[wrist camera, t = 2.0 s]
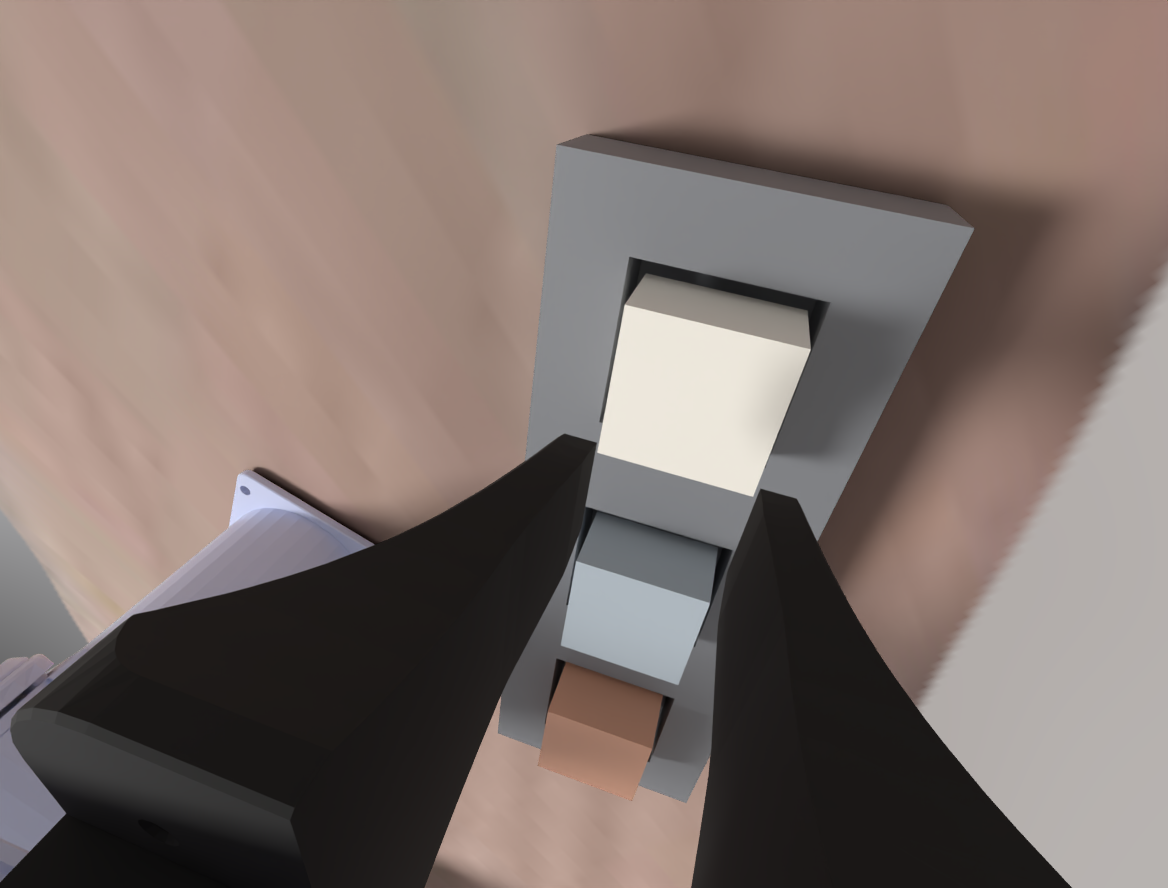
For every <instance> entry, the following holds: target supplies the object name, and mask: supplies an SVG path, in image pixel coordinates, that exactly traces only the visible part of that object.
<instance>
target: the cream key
mask: <svg viewBox="0 0 1168 888" xmlns="http://www.w3.org/2000/svg"><path fill="white" fill-rule="evenodd" d="M810 350H811V345H810V334H809V322H808V311H807V310H803V309H799V308H794V307H790V306H786V305H781V304H777V303H773V302H768V301H764V300H760V299H755V298H751V297H747V296H742V295H738V294H734V293H729V292H725V291H721V290H716V289H712V288H708V287H703V286H699V285H695V284H690V283H686V282H682V281H677V280H673V279H669V278H664V277H660V276H656V275H651V274H647V273H646V274H645V276H644V277H643V279H642V280H641V281H640V283H639V284H638V286H637V287H636V289H635V290H634V292H633V293H632V295H631V296H630V298H629V299H628V301H627V302H626V304H625V306H624V311H623V317H622V322H621V327H620V333H619V338H618V344H617V349H616V354H615V360H614V365H613V371H612V376H611V381H610V387H609V392H608V398H607V403H606V408H605V414H604V419H603V425H602V430H601V435H600V441H599V446H598V451H597V453H600V454H604V455H607V456H611V457H614V458H618V459H621V460H625V461H628V462H632V463H635V464H639V465H642V466H646V467H649V468H653V469H656V470H660V471H664V472H667V473H671V474H674V475H678V476H681V477H685V478H688V479H692V480H695V481H699V482H702V483H706V484H709V485H713V486H717V487H720V488H724V489H727V490H731V491H734V492H738V493H741V494H745V495H748V496H752V497H753V496H754V493H755V490H756V488H757V485H758V483H759V480H760V478H761V475H762V473H763V470H764V468H765V465H766V462H767V460H768V457H769V455H770V452H771V450H772V447H773V445H774V442H775V440H776V437H777V434H778V432H779V429H780V427H781V424H782V422H783V419H784V417H785V414H786V411H787V409H788V406H789V404H790V401H791V399H792V396H793V394H794V391H795V389H796V386H797V383H798V381H799V378H800V376H801V373H802V371H803V368H804V366H805V363H806V361H807V358H808V355H809V353H810Z"/></svg>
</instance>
